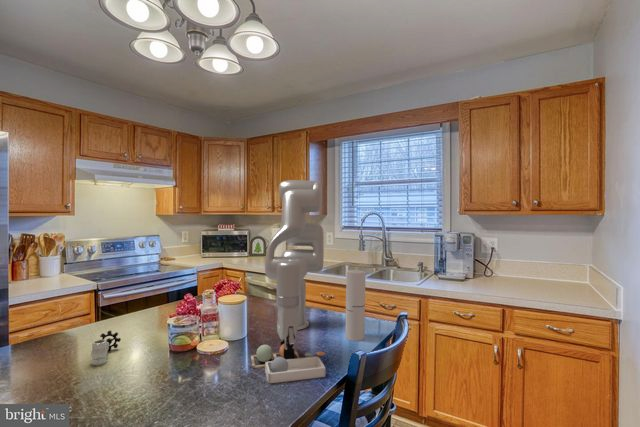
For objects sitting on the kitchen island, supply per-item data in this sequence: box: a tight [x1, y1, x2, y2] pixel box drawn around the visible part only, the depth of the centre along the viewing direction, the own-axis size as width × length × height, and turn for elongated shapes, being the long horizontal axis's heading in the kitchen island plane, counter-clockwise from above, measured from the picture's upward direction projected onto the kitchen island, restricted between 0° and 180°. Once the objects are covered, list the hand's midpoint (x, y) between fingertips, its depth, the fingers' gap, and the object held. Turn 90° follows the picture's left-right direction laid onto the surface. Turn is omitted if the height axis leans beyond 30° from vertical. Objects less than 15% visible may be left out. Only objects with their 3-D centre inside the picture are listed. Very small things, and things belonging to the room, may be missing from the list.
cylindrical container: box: [344, 269, 367, 342], centre depth 126 cm, size 7×7×25 cm
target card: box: [304, 351, 326, 358], centre depth 109 cm, size 6×9×1 cm, turn 106°
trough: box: [264, 355, 326, 385], centre depth 96 cm, size 8×16×3 cm, turn 106°
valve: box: [90, 330, 122, 366], centre depth 105 cm, size 7×7×12 cm
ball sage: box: [255, 344, 274, 363], centre depth 103 cm, size 5×5×5 cm
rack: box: [250, 350, 301, 369], centre depth 104 cm, size 8×15×1 cm, turn 106°
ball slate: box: [271, 356, 288, 373], centre depth 95 cm, size 5×5×5 cm
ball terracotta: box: [278, 343, 296, 358], centre depth 105 cm, size 5×5×5 cm
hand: (287, 356), depth 105 cm, fingers closed on ball terracotta, 5 cm apart
